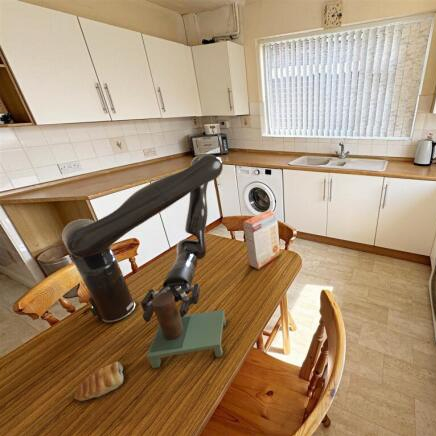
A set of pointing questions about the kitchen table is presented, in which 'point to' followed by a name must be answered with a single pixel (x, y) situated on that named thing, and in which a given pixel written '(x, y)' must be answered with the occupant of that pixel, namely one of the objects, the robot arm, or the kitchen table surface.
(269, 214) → the cracker box
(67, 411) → the kitchen table surface
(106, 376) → the pastry
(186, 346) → the stand
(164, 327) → the pepper mill
